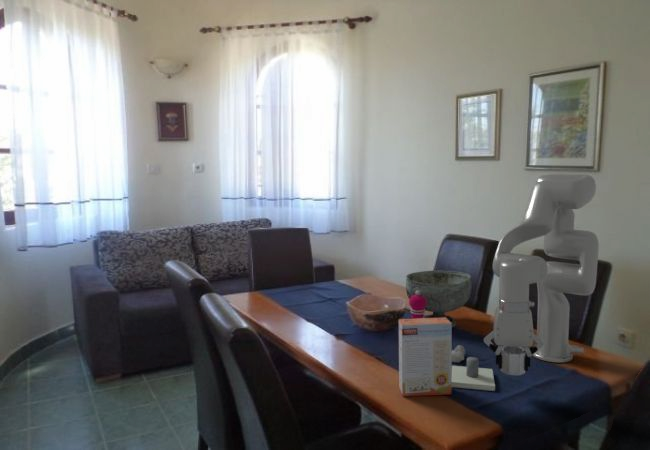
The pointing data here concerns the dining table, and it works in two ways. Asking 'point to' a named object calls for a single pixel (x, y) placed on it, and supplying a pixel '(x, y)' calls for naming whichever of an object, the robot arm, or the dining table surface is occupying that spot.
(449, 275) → the decorative bowl
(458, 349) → the pale two-lobed sculpture
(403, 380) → the cracker box
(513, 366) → the sleeve
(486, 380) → the square plate with knob
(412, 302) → the pepper mill
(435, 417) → the dining table surface
